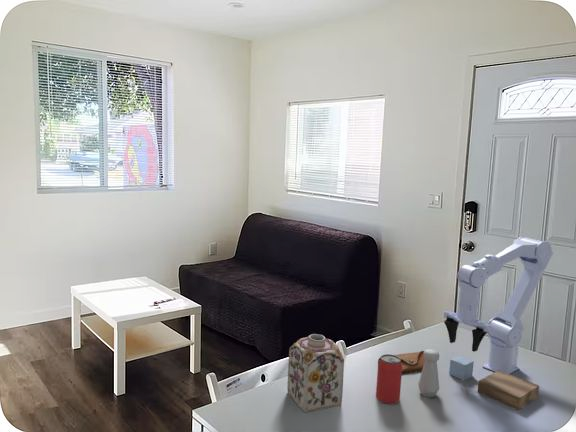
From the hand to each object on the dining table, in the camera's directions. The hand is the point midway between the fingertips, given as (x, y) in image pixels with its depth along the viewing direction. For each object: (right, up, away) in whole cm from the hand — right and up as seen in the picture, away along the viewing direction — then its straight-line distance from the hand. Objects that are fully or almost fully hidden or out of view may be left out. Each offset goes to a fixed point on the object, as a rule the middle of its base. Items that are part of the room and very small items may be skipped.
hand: (463, 346), depth 151 cm
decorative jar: (-48, -10, -17) cm, 51 cm away
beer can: (-27, -11, -15) cm, 33 cm away
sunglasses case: (-16, -9, +6) cm, 19 cm away
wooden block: (+9, -12, -10) cm, 18 cm away
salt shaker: (-14, -11, -11) cm, 21 cm away
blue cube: (0, -10, +1) cm, 10 cm away
